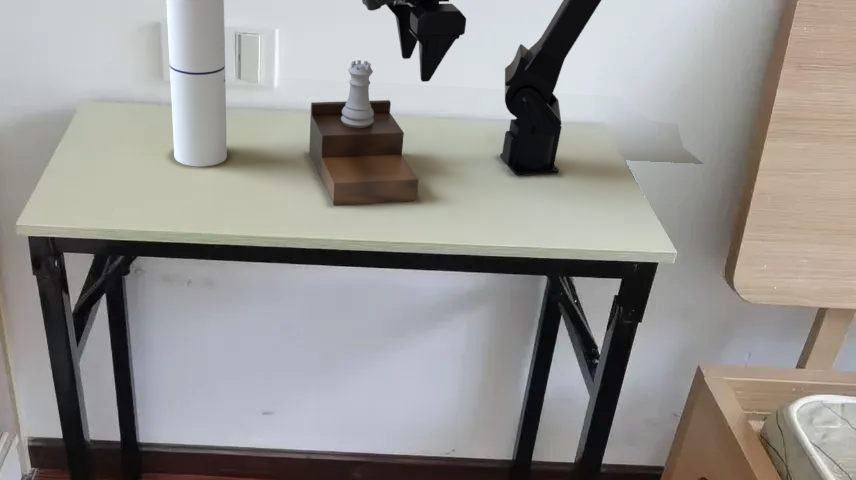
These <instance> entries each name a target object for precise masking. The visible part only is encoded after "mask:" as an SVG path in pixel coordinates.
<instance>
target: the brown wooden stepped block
mask: <svg viewBox="0 0 856 480" xmlns="http://www.w3.org/2000/svg"><path fill="white" fill-rule="evenodd" d="M347 101H348V100H346V101H319V102H318V101H317V102H310V121H309V147H308V148H309V151H308V155H309V157H310V159H311V162H312V163H313V165H314V168H315V169H316V172H317V174H318V176H319V178H320V180H321V182H322V184H323V186H324V188H325V190H326V192H327V195H328V198H329V199H330V201H331V204H332V205H333V206H339V205H342V206H343V205H359V204H360V205H361V204H376V203H393V202H394V203H395V202H399V203H400V202H416V201H417V197H418V188H419V177H418V176H417V175H416V173H415V172H414V170H413V169H412V167H411V166H410V164H409V163H408V161H407V160H406V158H405V156H404V155H403V146H404V135H405V132H404V131H403V130H402V128H401V126H400V125H399V123H398V122H397V121H396V119H395V118H394V117H393V114H391V103H392V102H391V100H389V99H383V100H382V99H381V100H380V99H379V100H369V102H370V104H371V108H372V109H373V111H374V115H373V116H372V118H373V119H374V121H373V123H372V124H371V125H370V126H368V127H365V128H353V127H349V126H346V125H345V124H344V123H343V122H342V120H341V117H342V116H343V114H342V109H343V108H344V107H345V106H346V105H345V104H346V102H347Z"/></svg>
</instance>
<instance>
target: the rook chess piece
mask: <svg viewBox="0 0 856 480" xmlns="http://www.w3.org/2000/svg"><path fill="white" fill-rule="evenodd" d="M371 66H372V65H371V62H369V61H368V60H364V61H363V63H362V60H361V59H359V60H357V61H356V60H353V61H351V62H350V66H349V68H348V69H347V71H348V74H349V75H350V79H349V81H348V83H349V92H348V97H347V100H346V101H347V102H346V101H345V102H346V104H345V105H346V106H345V107H344V108H343V109H342V114H343V116H342V117H341V120H342V122H343V123H344V124H345V125H346V126H349V127H353V128H365V127H368V126H370V125H371V124H372V123H373V121H374V119H373V118H372V116H373V115H374V111H373V109H372V108H371V104H370V102H369V101H370V94H369V93H370V92H369V90H370V88H369V87H370V84H371V81H370V76H371V75H372V74H373V73H374V71H373V68H372V67H371Z"/></svg>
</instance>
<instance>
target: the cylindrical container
mask: <svg viewBox="0 0 856 480" xmlns="http://www.w3.org/2000/svg"><path fill="white" fill-rule="evenodd" d="M165 1H166V2H165V4H166V21H167V22H166V23H167V41H168V58H169V60H168V63H169V79H170V81H169V82H170V98H171V99H170V100H171V116H172V117H171V120H172V138H173V155H174V159H175V160H176V161H177V162H178V163H180V164H182V165H185V166H189V167H197V168H199V167H201V168H202V167H212V166H217V165H219V164H221V163H223V162H224V161H225V160H226V159H227V157H228V156H227V155H228V153H227V152H228V151H227V150H228V149H227V147H228V146H227V102H226V101H227V97H226V95H227V93H226V91H227V89H226V87H227V86H226V50H225V49H226V44H225V43H226V42H225V41H226V40H225V39H226V37H225V0H165Z"/></svg>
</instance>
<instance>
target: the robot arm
mask: <svg viewBox="0 0 856 480" xmlns="http://www.w3.org/2000/svg"><path fill="white" fill-rule="evenodd" d="M361 2H362V5H364V6H365V7H366V9H367V10H368V11H373V12H374V11H376V10H380V9H381V8H382V6H386V7H387V8H388V9H389V10H390V11H391V13H393V15H394V16H395V22H396V27H397V28H396V29H397V34H398V40H399V46H400V53H401V57H402V59H403V60H410V59H411V58H412V55H413V53H414V50H415V49H416V46H417V43H418V51H419V52H418V56H419V74H420V76H419V77H420V81H421V82H429V81H431V79H432V78H433V76H434V75H435V73H436V71H437V69H438V67H439V66H440V64H441V62H442V61H443V59H444V58H445V56H446V54H447V53H448V52H449V50H450V49H451V47H452V46H453V45H454V43H455V41H456V40H458V39H460V37H461V36H463V35H465V32H466V25H467V18H466V16H465V15H464V14H463V12H461V10H460V9H459V8H457V7H456V6H455V5H454V3H447V2H450V0H361ZM440 2H443V3H440ZM444 2H445V3H444ZM601 2H602V0H562V2H561V3H560V5H559V7H558V9H557V10H556V12H555V13H554V15H553V17H552V18H551V20H550V22H549V23H548V25H547V26H546V28H545V30H544V32H543V33H542V35H541V36H540V38H539V39H538V40H537V41H536V42H535V43H534V44H533V45H532V46H531V47H530V48H527V47H526V46H525V45H523V43H520V44H519V46H518V48H517V51H516V53H515V56H514V58H513V59H512V61H511V62H510V64H509V65H507V66H506V67H505V68H504V103H505V107H506V109H507V111H509V114H511V115H512V116H513V117H515V118H512V119H510V123H509V129H508V130H505V134H504V139H503V140H504V141H503V146H502V152H501V153H500V154H499V158H500V159H501V160H502V161H503V163H504V164H505V165H506V167H508V169H509V170H510V171H511V172H512V173H513V174H514V175H515V176H527V175H549V174H551V175H552V174H559V171H560V169H559V168H558V166H557V165H556V159H557V152H558V147H559V143H560V136H561V132H562V117H561V110H560V109H561V108H560V102H559V99H558V98H557V96H556V95H555V94H554V91H555V89H556V86H557V84H558V80H559V78H560V74H561V71H562V69H563V65H564V62H565V60H566V58H567V56H568V55H569V53H570V51H571V50H572V48H573V47H574V45H575V43H576V41H577V40H578V38H580V35H581V34H582V32H583V31H584V29H585V27H586V26H587V24H588V23H589V21H590V20H591V17H592V16H593V15H594V13H595V11H596V10H597V9H598V6H599V5H600V3H601Z"/></svg>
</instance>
